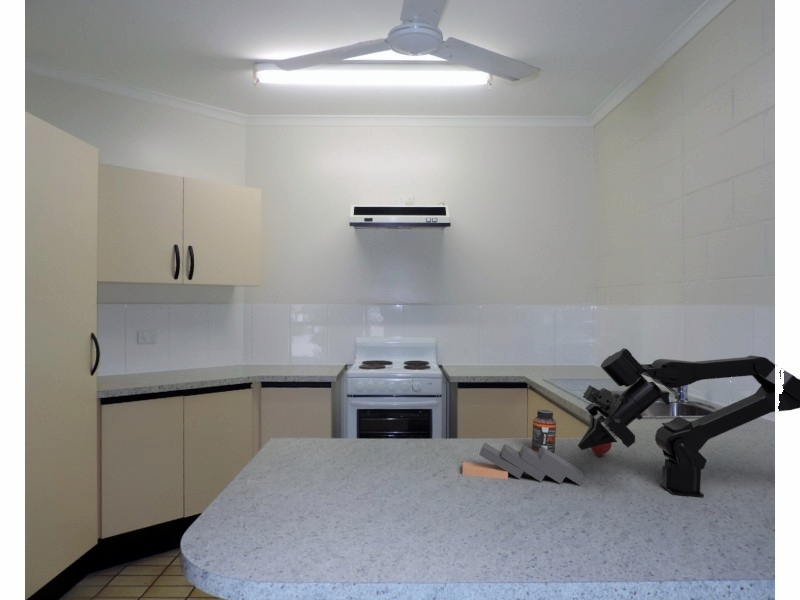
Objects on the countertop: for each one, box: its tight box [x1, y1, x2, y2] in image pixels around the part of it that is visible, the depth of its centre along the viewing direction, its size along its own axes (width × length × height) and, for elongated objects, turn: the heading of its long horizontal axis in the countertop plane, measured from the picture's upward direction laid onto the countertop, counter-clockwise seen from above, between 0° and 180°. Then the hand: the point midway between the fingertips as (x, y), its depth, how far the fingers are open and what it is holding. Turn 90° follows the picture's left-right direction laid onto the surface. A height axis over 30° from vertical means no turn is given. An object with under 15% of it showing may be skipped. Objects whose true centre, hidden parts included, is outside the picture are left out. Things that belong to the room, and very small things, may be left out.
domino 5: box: [538, 446, 586, 487], centre depth 111 cm, size 2×5×10 cm
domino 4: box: [518, 444, 567, 485], centre depth 112 cm, size 2×5×10 cm
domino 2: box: [478, 442, 524, 480], centre depth 114 cm, size 2×5×10 cm
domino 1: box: [462, 461, 509, 480], centre depth 114 cm, size 2×5×10 cm
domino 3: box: [500, 443, 547, 483], centre depth 113 cm, size 2×5×10 cm
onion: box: [590, 442, 613, 456], centre depth 133 cm, size 6×6×8 cm
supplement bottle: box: [531, 409, 557, 454], centre depth 132 cm, size 6×6×11 cm
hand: (579, 447), depth 111 cm, fingers closed
